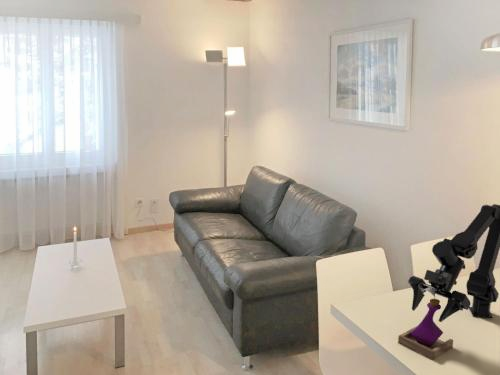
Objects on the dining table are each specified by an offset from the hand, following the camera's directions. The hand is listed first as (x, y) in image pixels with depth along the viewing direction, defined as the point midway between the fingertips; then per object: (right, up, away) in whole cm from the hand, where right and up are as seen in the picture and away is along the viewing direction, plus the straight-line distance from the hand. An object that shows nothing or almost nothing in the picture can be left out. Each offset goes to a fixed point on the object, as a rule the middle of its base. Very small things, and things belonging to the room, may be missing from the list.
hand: (425, 315), depth 149 cm
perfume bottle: (+1, -9, +3) cm, 10 cm away
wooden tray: (+1, -10, +3) cm, 10 cm away
